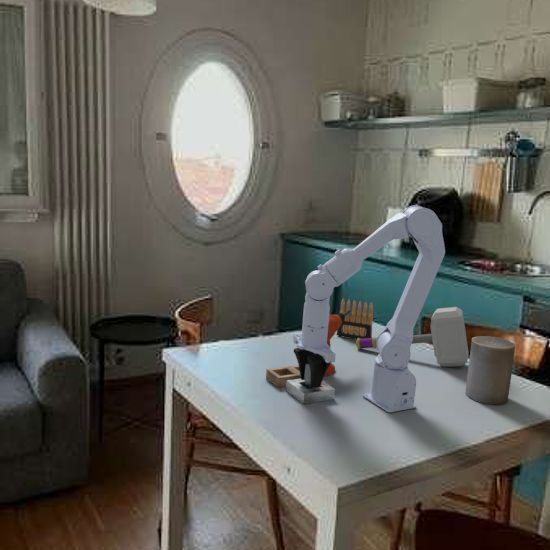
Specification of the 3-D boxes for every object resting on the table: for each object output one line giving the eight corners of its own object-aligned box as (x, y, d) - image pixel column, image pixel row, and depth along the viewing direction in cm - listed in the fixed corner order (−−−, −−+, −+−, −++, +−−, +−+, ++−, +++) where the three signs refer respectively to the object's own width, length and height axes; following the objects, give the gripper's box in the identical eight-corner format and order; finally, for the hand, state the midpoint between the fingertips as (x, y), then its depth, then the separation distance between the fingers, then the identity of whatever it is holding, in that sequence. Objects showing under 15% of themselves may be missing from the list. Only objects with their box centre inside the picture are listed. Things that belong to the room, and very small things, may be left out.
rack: (308, 373, 142) (309, 363, 142) (321, 381, 137) (322, 372, 137) (265, 378, 136) (266, 369, 136) (277, 387, 131) (278, 377, 131)
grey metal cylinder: (318, 396, 128) (321, 364, 127) (307, 398, 126) (310, 366, 125) (311, 391, 130) (314, 360, 129) (300, 393, 129) (303, 361, 128)
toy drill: (355, 354, 155) (358, 302, 151) (324, 381, 140) (326, 325, 135) (339, 350, 157) (341, 299, 153) (307, 376, 142) (308, 321, 138)
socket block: (334, 399, 127) (334, 389, 126) (303, 404, 123) (304, 393, 123) (315, 386, 134) (315, 376, 133) (285, 390, 130) (286, 380, 130)
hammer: (350, 321, 160) (460, 311, 149) (356, 315, 167) (461, 305, 156) (358, 373, 162) (468, 366, 151) (364, 365, 169) (469, 358, 158)
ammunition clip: (371, 340, 174) (375, 302, 172) (370, 341, 173) (374, 303, 170) (337, 334, 178) (341, 297, 176) (336, 335, 176) (339, 298, 174)
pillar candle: (511, 396, 136) (519, 336, 133) (503, 409, 128) (512, 345, 125) (470, 386, 141) (477, 328, 138) (460, 398, 133) (467, 336, 130)
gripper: (283, 317, 130) (279, 373, 132) (317, 335, 117) (312, 397, 120) (310, 315, 133) (305, 370, 136) (345, 332, 121) (339, 392, 123)
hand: (310, 382), depth 128 cm, fingers open, 4 cm apart
